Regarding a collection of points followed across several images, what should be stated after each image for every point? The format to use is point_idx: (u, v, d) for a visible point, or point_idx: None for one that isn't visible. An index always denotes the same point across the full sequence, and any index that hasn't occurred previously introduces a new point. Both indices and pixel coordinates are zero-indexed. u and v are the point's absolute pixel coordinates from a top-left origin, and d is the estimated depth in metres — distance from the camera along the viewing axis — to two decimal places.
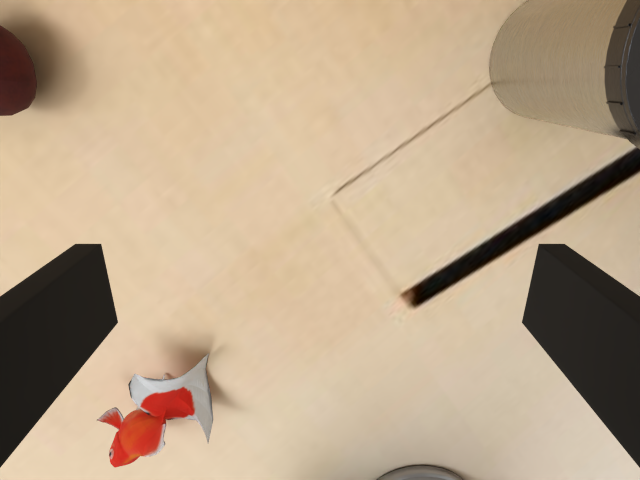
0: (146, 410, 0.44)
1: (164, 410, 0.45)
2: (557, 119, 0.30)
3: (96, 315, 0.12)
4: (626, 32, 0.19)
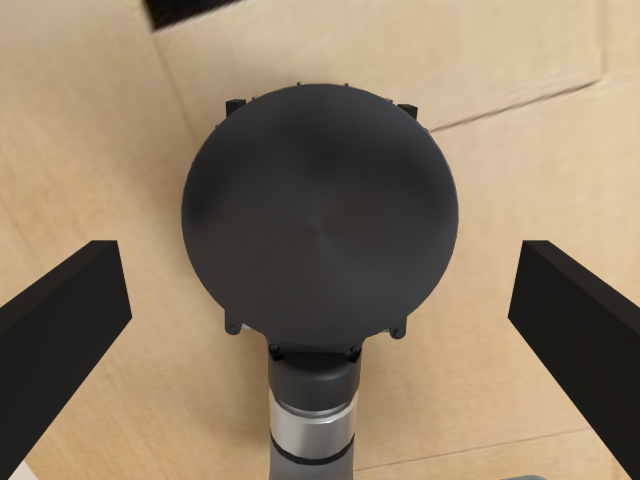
0: None
1: None
2: None
3: (112, 310, 0.12)
4: None
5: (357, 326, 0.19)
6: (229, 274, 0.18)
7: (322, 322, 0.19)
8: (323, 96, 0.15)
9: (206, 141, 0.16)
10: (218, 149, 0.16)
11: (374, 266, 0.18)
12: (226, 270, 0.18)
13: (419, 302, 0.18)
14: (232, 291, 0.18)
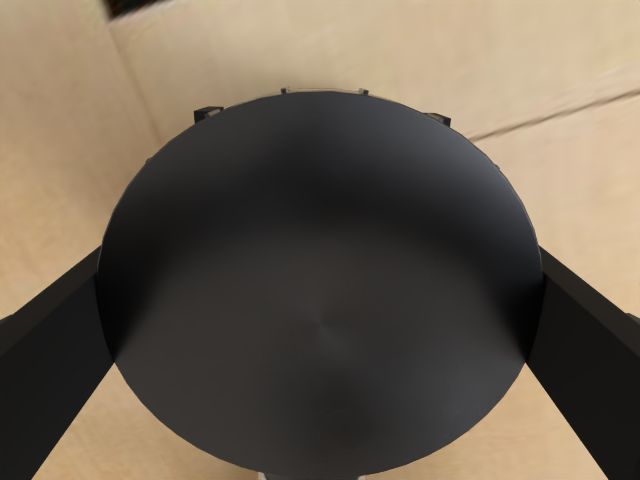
0: None
1: None
2: None
3: None
4: None
5: (376, 455, 0.12)
6: (179, 385, 0.11)
7: (323, 450, 0.12)
8: (326, 112, 0.09)
9: (129, 187, 0.09)
10: (150, 200, 0.09)
11: (405, 374, 0.11)
12: (174, 380, 0.11)
13: (472, 423, 0.12)
14: (185, 408, 0.12)
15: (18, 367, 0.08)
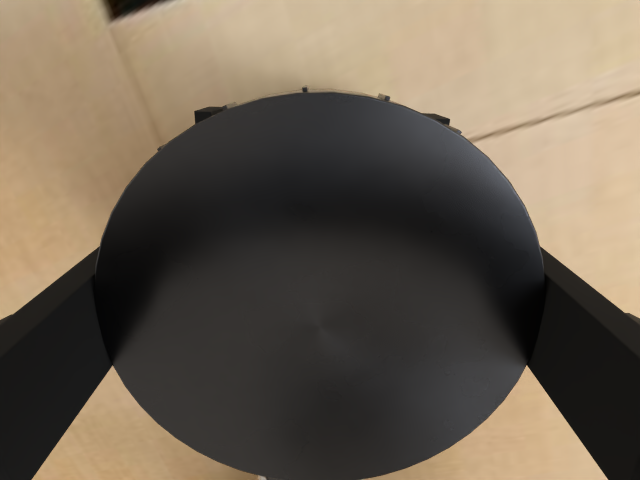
0: None
1: None
2: None
3: None
4: None
5: (510, 334, 0.11)
6: (330, 452, 0.12)
7: (471, 377, 0.11)
8: (117, 250, 0.10)
9: (140, 404, 0.12)
10: (154, 397, 0.11)
11: (418, 273, 0.10)
12: (324, 452, 0.12)
13: (527, 225, 0.10)
14: (357, 458, 0.12)
15: (18, 367, 0.08)
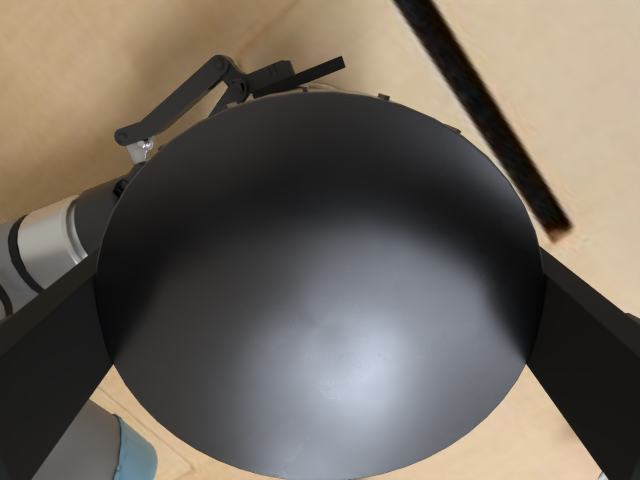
0: None
1: None
2: None
3: None
4: None
5: (509, 333, 0.11)
6: (330, 451, 0.12)
7: (471, 376, 0.11)
8: (118, 249, 0.10)
9: (141, 403, 0.12)
10: (155, 396, 0.11)
11: (417, 272, 0.10)
12: (324, 451, 0.12)
13: (527, 225, 0.10)
14: (357, 457, 0.12)
15: (19, 367, 0.08)
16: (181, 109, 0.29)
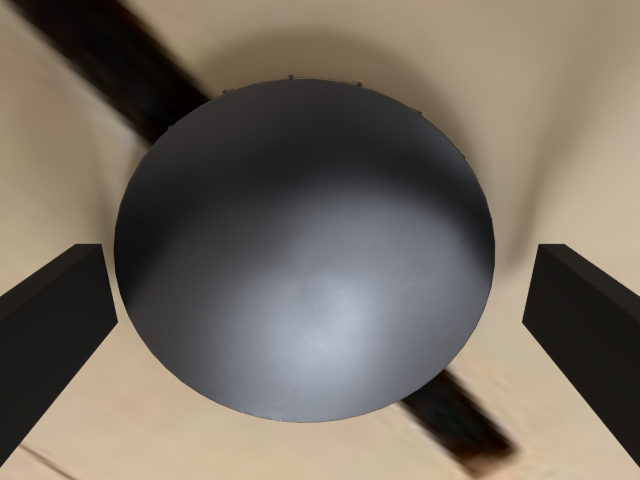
0: None
1: None
2: None
3: (96, 315, 0.12)
4: None
5: (467, 286, 0.13)
6: (317, 393, 0.14)
7: (436, 324, 0.13)
8: (134, 213, 0.12)
9: (152, 351, 0.13)
10: (164, 344, 0.13)
11: (388, 233, 0.12)
12: (311, 394, 0.14)
13: (478, 191, 0.11)
14: (340, 399, 0.14)
15: None
16: None
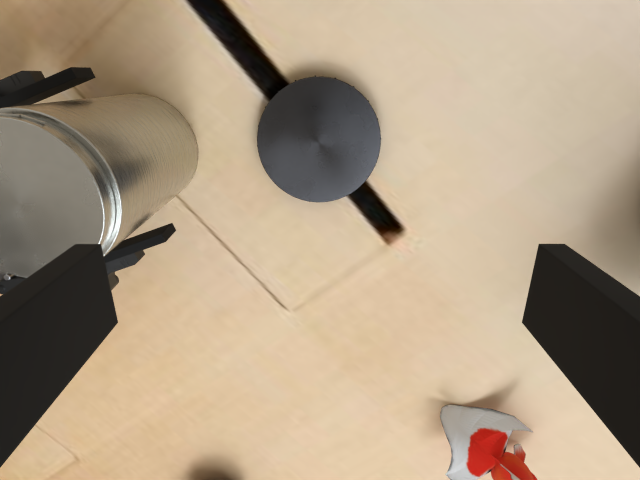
0: (485, 472, 0.48)
1: (491, 456, 0.49)
2: (165, 196, 0.33)
3: (96, 315, 0.12)
4: (365, 98, 0.37)
5: (372, 145, 0.38)
6: (322, 189, 0.39)
7: (363, 160, 0.38)
8: (265, 118, 0.37)
9: (265, 170, 0.39)
10: (270, 167, 0.39)
11: (345, 125, 0.37)
12: (320, 189, 0.39)
13: (372, 111, 0.37)
14: (330, 191, 0.40)
15: None
16: None
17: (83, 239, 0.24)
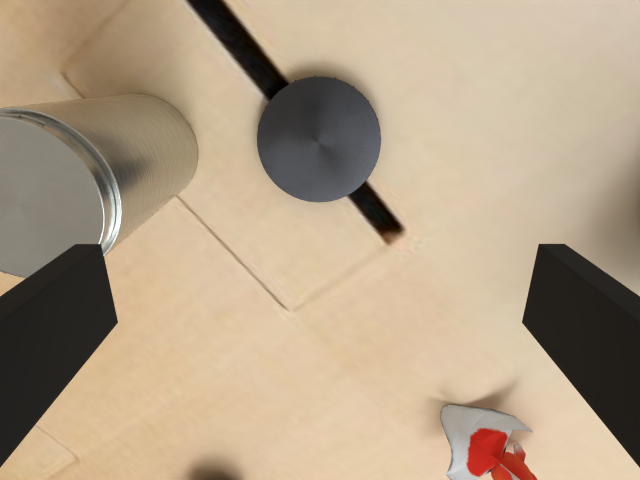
0: (485, 472, 0.48)
1: (491, 456, 0.49)
2: (165, 196, 0.33)
3: (96, 315, 0.12)
4: (365, 98, 0.37)
5: (372, 145, 0.38)
6: (322, 189, 0.39)
7: (363, 160, 0.38)
8: (265, 118, 0.37)
9: (265, 170, 0.39)
10: (270, 167, 0.39)
11: (345, 125, 0.37)
12: (320, 189, 0.39)
13: (372, 111, 0.37)
14: (330, 191, 0.40)
15: None
16: None
17: (83, 239, 0.24)
